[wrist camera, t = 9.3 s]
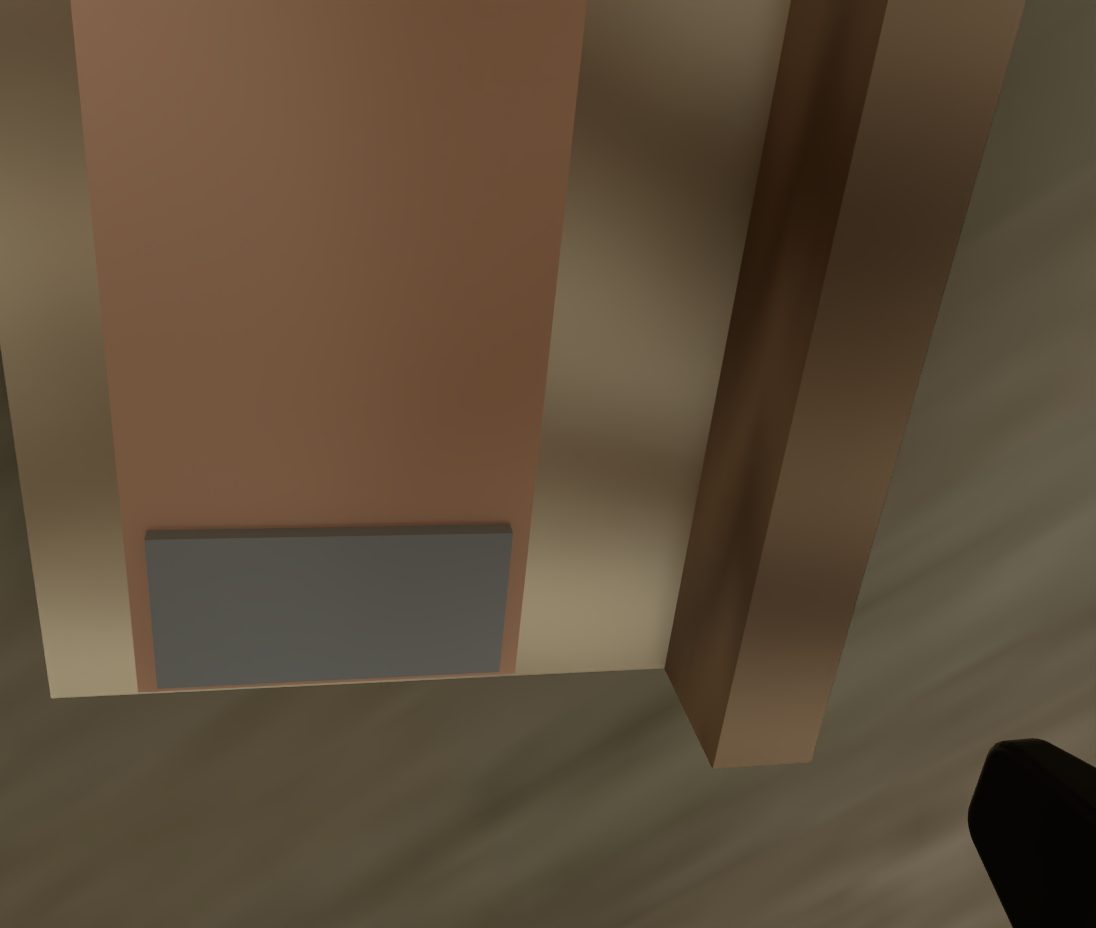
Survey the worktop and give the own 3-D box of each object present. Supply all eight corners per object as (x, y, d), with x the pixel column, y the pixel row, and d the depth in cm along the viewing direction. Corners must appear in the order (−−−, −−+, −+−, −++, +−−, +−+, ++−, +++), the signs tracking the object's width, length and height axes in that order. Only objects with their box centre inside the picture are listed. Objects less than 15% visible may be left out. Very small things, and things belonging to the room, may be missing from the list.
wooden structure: (735, 636, 23) (810, 761, 20) (62, 664, 20) (9, 820, 16) (1045, -749, 13) (1305, -987, 10) (-181, -1128, 10) (-433, -1674, 7)
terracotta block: (501, -203, 14) (623, -286, 8) (455, 460, 18) (517, 683, 13) (146, -254, 13) (27, -387, 7) (189, 461, 17) (135, 703, 12)
